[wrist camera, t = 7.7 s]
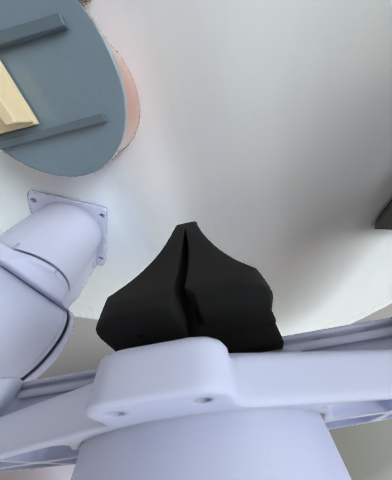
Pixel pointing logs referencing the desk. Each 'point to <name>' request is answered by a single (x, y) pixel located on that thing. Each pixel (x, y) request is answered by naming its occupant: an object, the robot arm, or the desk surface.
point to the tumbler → (66, 87)
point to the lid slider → (13, 106)
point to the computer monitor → (385, 219)
